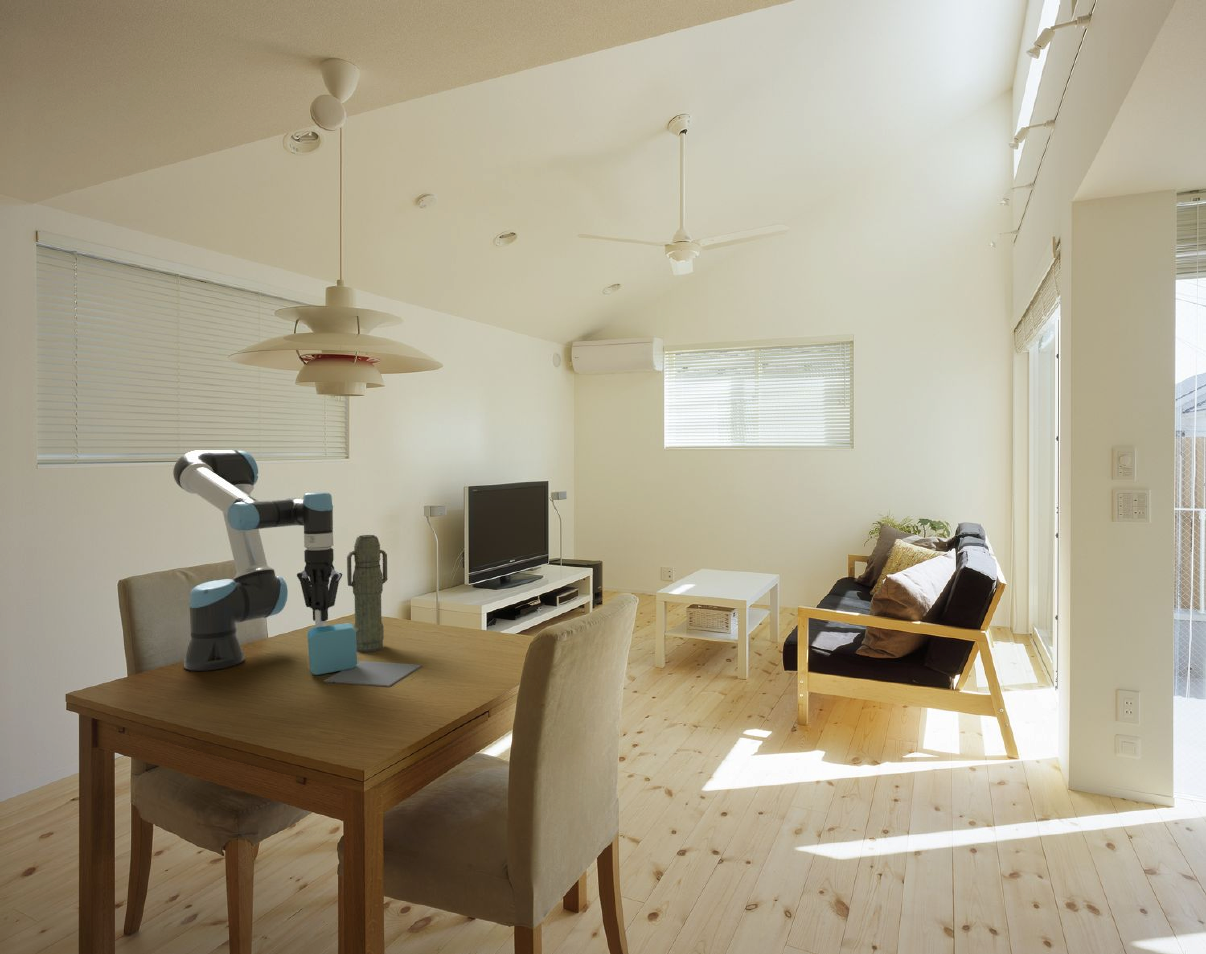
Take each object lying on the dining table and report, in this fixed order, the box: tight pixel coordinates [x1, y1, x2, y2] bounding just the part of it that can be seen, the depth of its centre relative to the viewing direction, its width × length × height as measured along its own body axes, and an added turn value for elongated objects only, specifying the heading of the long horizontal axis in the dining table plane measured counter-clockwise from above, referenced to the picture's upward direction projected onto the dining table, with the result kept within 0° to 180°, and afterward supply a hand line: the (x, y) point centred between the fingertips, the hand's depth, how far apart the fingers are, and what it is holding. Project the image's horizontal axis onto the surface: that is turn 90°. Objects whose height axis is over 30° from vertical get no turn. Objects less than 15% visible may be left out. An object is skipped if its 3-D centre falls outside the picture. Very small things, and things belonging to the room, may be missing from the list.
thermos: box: [346, 534, 388, 653], centre depth 220 cm, size 9×12×35 cm
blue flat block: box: [307, 622, 358, 676], centre depth 197 cm, size 12×4×12 cm, turn 118°
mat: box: [323, 660, 423, 688], centre depth 195 cm, size 19×18×1 cm
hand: (320, 632), depth 198 cm, fingers closed
